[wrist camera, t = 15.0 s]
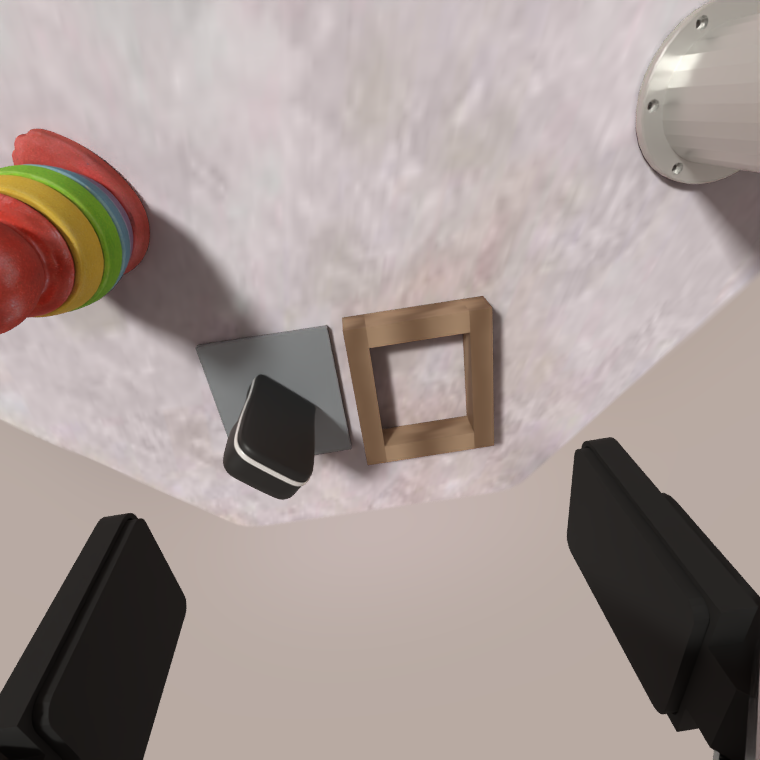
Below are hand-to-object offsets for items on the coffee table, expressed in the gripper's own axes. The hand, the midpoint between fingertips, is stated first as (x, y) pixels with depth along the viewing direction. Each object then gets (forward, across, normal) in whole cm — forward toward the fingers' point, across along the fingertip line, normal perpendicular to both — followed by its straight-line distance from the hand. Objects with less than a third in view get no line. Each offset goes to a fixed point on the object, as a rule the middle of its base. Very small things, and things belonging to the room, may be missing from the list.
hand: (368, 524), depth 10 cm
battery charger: (+33, +9, +16) cm, 38 cm away
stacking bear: (+34, +20, -3) cm, 39 cm away
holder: (+33, -5, +16) cm, 37 cm away
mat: (+33, +9, +16) cm, 38 cm away
